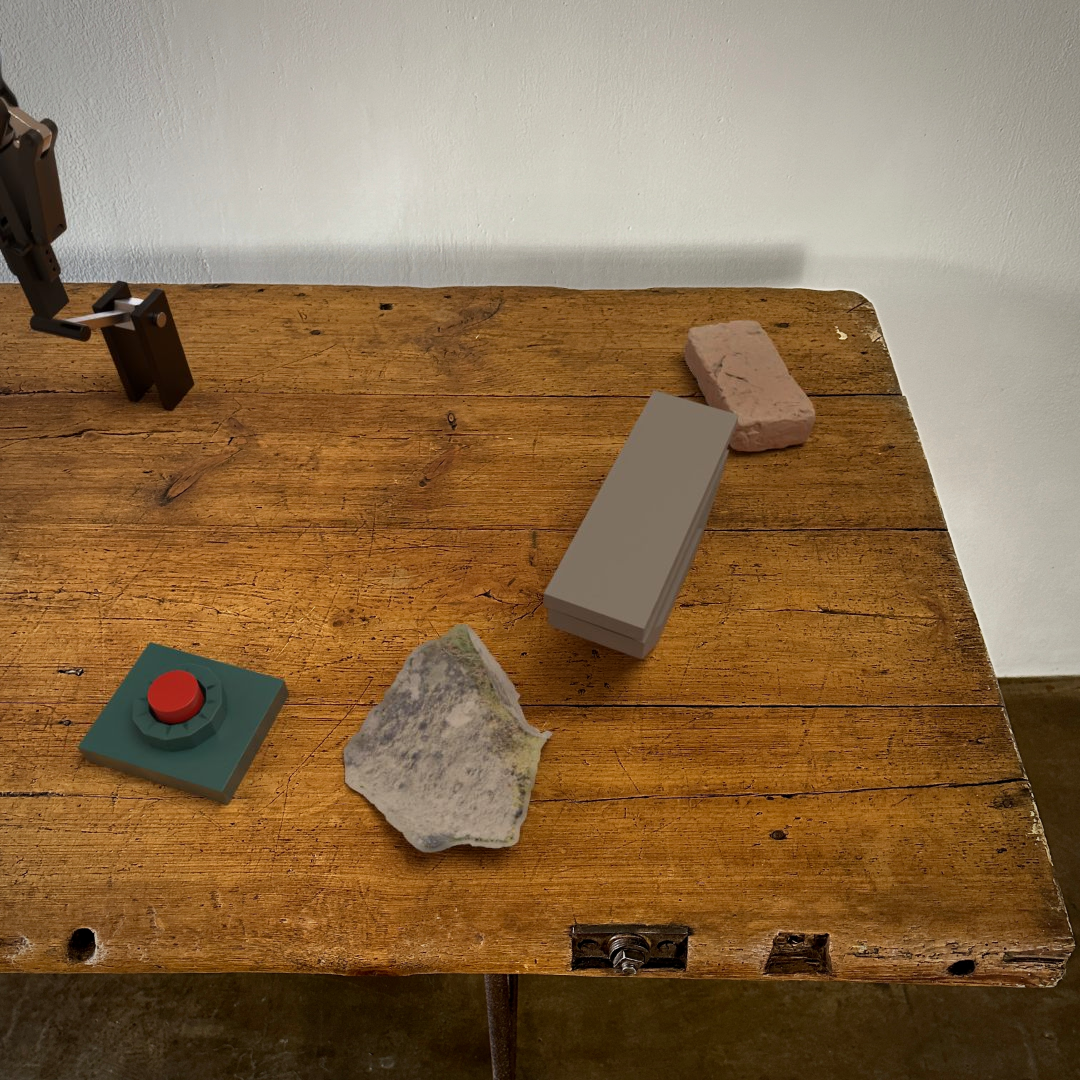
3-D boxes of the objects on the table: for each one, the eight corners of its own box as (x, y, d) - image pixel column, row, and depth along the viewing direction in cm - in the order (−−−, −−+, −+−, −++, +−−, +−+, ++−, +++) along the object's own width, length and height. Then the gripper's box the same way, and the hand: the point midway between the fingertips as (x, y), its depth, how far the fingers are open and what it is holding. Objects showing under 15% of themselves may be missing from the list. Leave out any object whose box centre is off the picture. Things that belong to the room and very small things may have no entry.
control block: (86, 761, 74) (68, 735, 71) (157, 656, 80) (143, 628, 77) (228, 805, 72) (216, 780, 69) (289, 694, 78) (280, 667, 75)
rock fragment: (463, 648, 82) (461, 609, 78) (605, 772, 74) (610, 735, 70) (320, 758, 74) (309, 721, 71) (460, 907, 67) (457, 875, 63)
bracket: (173, 449, 96) (135, 345, 86) (93, 430, 98) (47, 326, 88) (232, 374, 104) (203, 271, 94) (158, 357, 105) (121, 254, 95)
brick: (678, 356, 107) (684, 321, 103) (750, 346, 108) (758, 311, 105) (732, 461, 97) (740, 426, 93) (810, 448, 98) (821, 413, 94)
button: (144, 716, 72) (137, 704, 71) (170, 677, 75) (164, 664, 73) (187, 729, 72) (181, 717, 70) (212, 689, 74) (206, 677, 73)
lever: (80, 348, 82) (80, 320, 82) (29, 337, 83) (28, 309, 82) (166, 329, 93) (166, 304, 93) (120, 319, 94) (119, 294, 93)
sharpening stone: (641, 475, 95) (653, 390, 87) (718, 499, 93) (738, 414, 85) (540, 673, 80) (543, 593, 72) (630, 707, 78) (644, 628, 70)
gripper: (42, 1, 65) (145, 298, 83) (-121, -24, 67) (13, 270, 85) (-32, 46, 60) (94, 351, 78) (-205, 18, 62) (-44, 320, 80)
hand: (52, 308), depth 81 cm, fingers closed
